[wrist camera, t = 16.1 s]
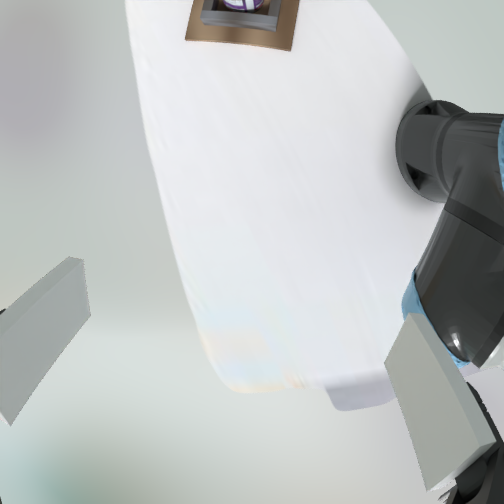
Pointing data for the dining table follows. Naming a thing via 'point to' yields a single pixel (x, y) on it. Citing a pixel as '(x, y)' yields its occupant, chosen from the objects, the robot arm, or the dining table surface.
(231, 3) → the pill bottle
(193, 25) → the square framed tray
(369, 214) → the dining table surface
